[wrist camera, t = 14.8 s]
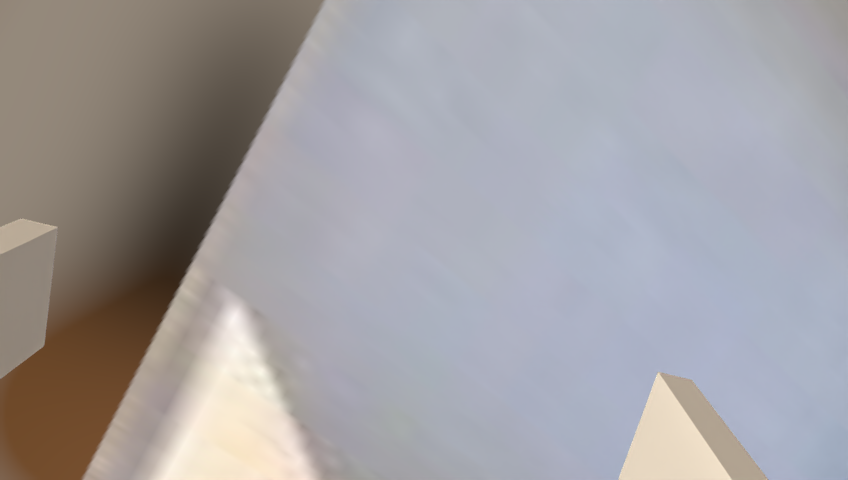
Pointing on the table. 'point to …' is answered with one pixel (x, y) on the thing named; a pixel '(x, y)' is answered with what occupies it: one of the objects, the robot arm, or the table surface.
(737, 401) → the table surface
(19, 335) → the robot arm
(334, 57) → the table surface
